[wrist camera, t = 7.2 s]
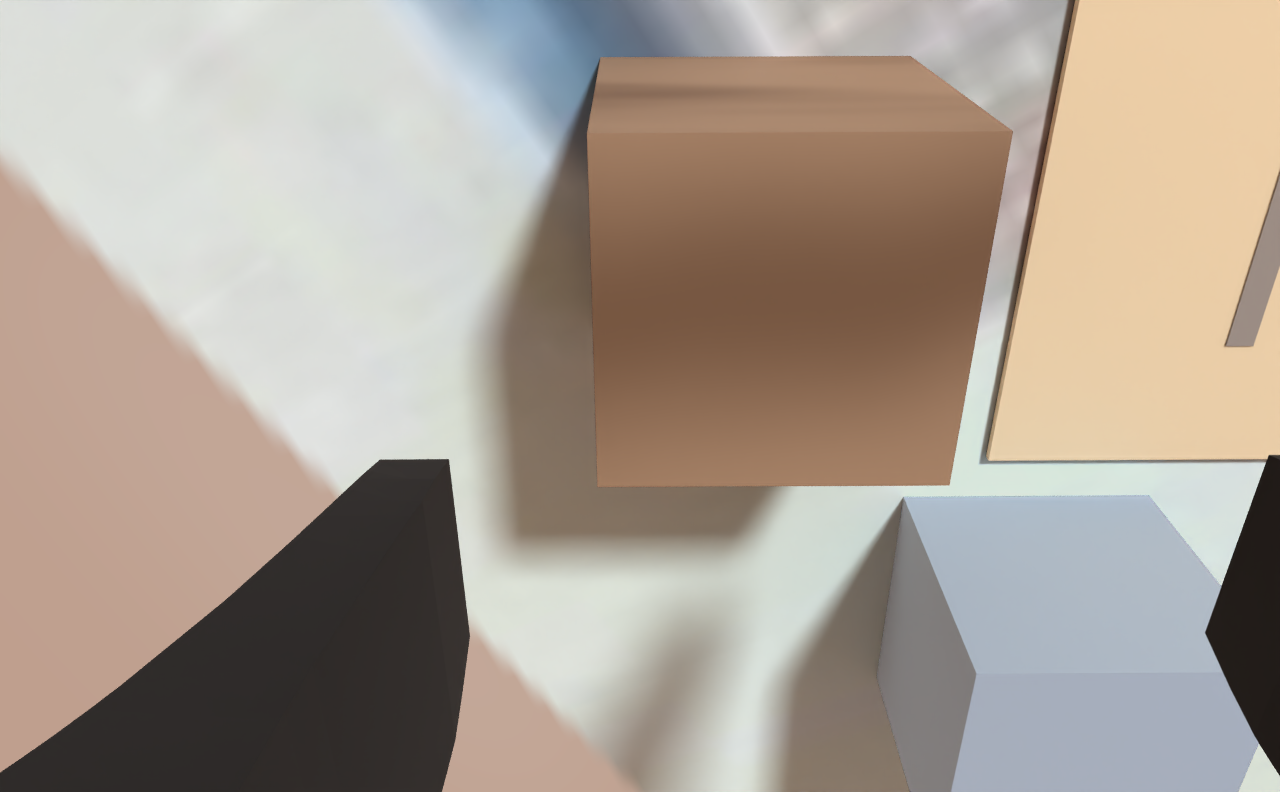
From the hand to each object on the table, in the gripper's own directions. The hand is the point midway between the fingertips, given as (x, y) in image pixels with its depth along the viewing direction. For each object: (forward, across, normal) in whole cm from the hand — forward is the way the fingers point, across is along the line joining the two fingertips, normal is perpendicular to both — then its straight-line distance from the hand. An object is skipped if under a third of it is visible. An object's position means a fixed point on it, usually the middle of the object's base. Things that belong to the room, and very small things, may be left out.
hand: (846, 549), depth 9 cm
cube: (+10, -6, +8) cm, 14 cm away
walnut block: (+10, 0, 0) cm, 10 cm away
